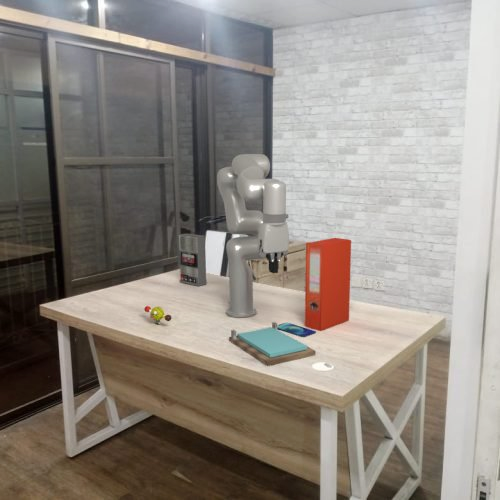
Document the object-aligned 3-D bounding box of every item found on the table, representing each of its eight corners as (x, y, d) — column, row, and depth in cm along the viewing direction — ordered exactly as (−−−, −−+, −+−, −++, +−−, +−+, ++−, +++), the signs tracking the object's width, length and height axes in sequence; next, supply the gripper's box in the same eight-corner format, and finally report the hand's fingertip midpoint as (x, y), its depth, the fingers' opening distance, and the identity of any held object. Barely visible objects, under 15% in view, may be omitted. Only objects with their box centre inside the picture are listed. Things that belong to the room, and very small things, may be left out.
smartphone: (303, 336, 185) (273, 326, 196) (303, 339, 185) (273, 328, 196) (317, 331, 190) (286, 322, 201) (317, 334, 190) (286, 324, 201)
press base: (229, 341, 182) (229, 329, 182) (273, 332, 191) (273, 321, 190) (267, 366, 160) (267, 352, 159) (315, 355, 168) (315, 342, 168)
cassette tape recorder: (179, 282, 269) (177, 234, 265) (187, 280, 274) (186, 233, 269) (198, 286, 260) (196, 237, 256) (206, 284, 265) (205, 235, 261)
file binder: (349, 321, 203) (351, 239, 197) (321, 331, 191) (322, 245, 186) (332, 316, 209) (334, 237, 203) (304, 326, 197) (305, 243, 191)
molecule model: (139, 320, 207) (139, 303, 206) (152, 317, 211) (151, 301, 210) (163, 331, 194) (162, 313, 193) (176, 328, 197) (175, 310, 196)
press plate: (236, 336, 182) (236, 332, 182) (270, 330, 189) (270, 326, 188) (270, 357, 162) (270, 353, 162) (307, 349, 169) (307, 345, 168)
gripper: (287, 215, 180) (286, 267, 184) (248, 218, 173) (248, 272, 177) (299, 218, 173) (298, 272, 177) (260, 222, 166) (259, 277, 170)
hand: (273, 272), depth 177 cm, fingers closed
